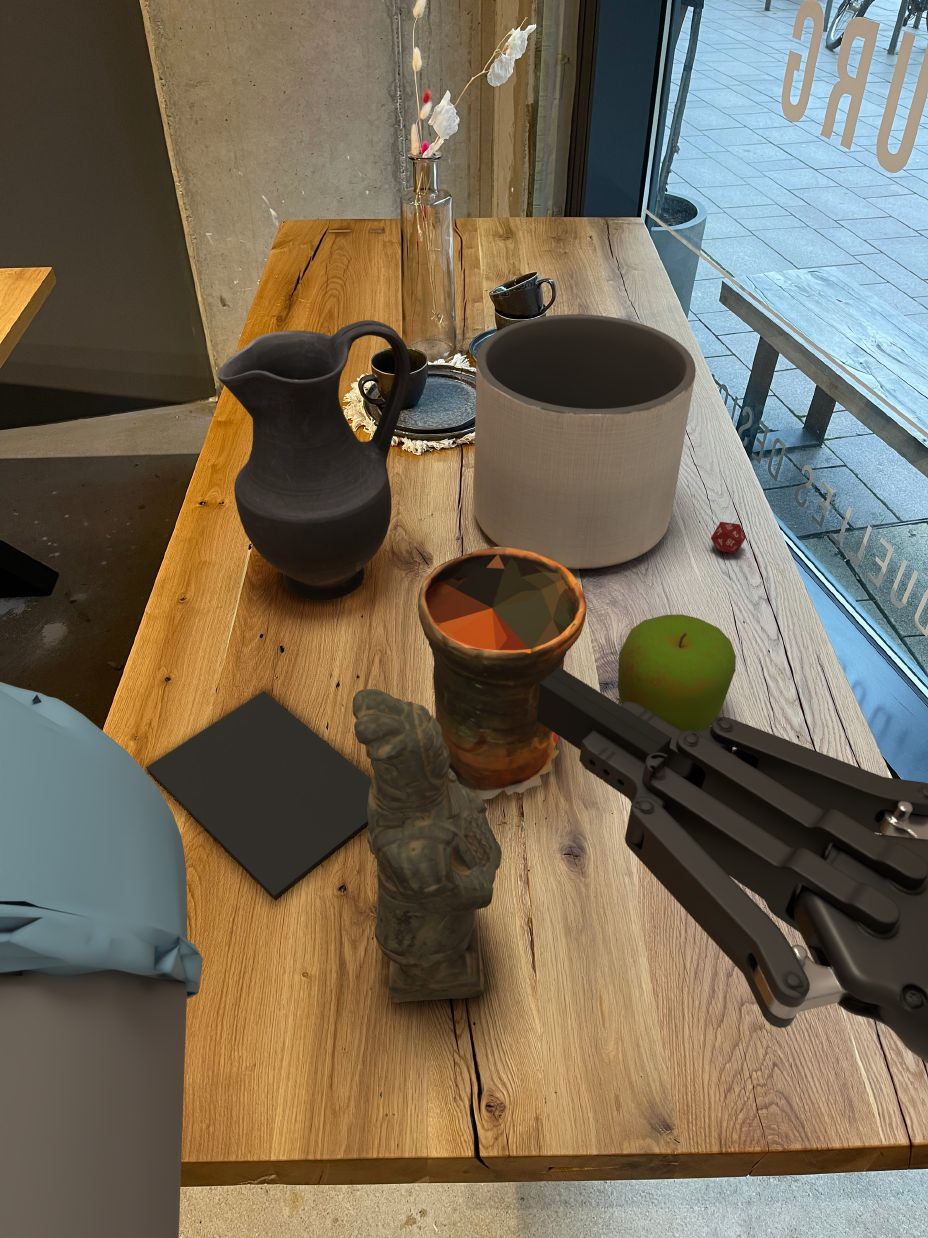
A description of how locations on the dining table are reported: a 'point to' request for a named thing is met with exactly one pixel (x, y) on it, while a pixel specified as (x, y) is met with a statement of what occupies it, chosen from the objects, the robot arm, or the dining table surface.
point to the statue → (424, 853)
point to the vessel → (498, 660)
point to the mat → (267, 791)
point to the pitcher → (313, 458)
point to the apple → (677, 670)
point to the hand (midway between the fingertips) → (548, 694)
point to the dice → (728, 537)
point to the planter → (579, 437)
